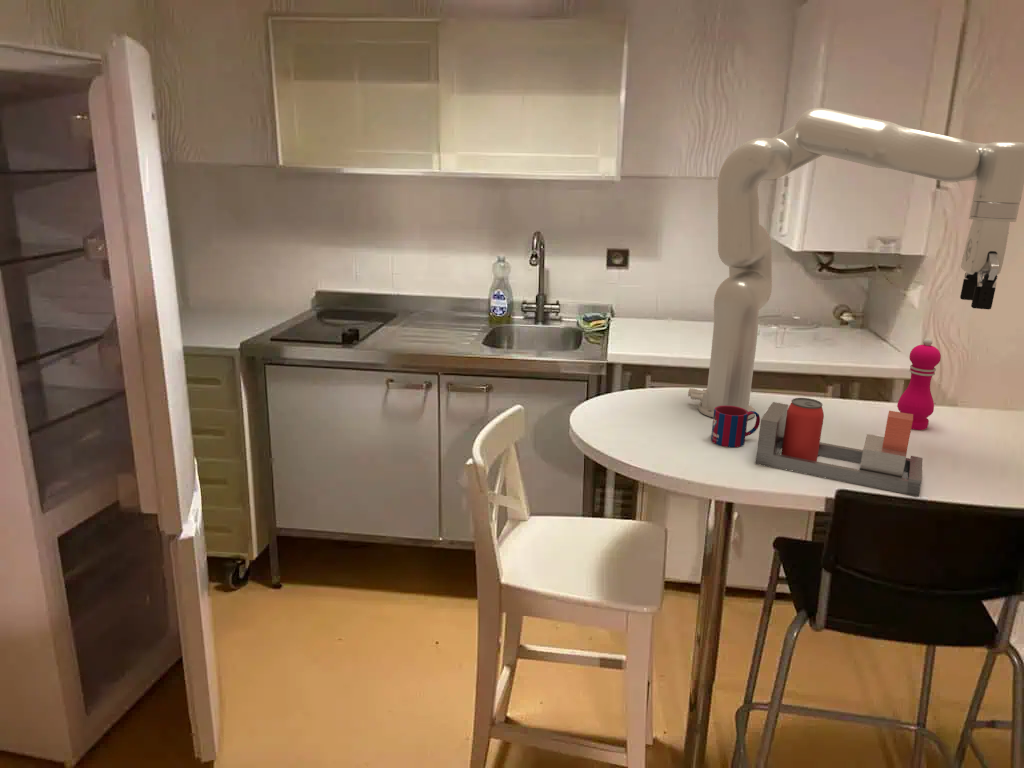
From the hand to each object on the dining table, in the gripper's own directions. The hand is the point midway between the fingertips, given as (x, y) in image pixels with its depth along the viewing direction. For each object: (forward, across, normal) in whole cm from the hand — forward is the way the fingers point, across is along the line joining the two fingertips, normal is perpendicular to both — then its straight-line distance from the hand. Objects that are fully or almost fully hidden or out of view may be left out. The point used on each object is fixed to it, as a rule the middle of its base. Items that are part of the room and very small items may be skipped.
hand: (974, 304), depth 146 cm
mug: (+31, +10, -40) cm, 52 cm away
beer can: (+31, +16, -28) cm, 45 cm away
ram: (+30, +18, -14) cm, 38 cm away
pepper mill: (+31, -17, -4) cm, 35 cm away
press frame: (+31, +17, -21) cm, 41 cm away
